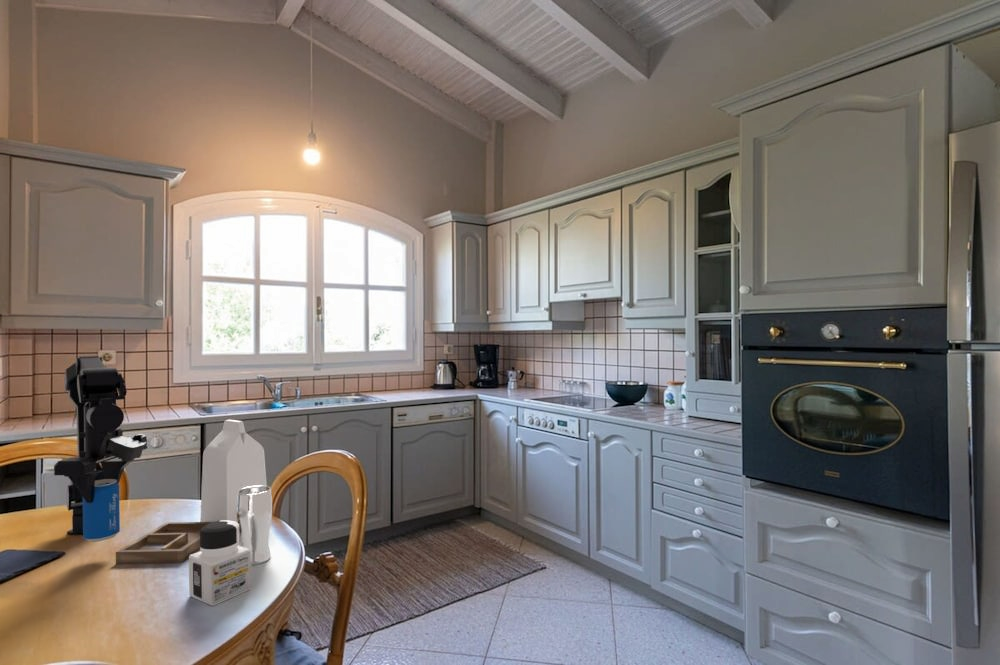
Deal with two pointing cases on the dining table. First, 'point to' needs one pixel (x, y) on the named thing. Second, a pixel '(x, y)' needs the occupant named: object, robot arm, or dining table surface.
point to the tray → (164, 544)
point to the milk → (229, 471)
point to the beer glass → (255, 521)
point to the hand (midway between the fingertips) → (101, 497)
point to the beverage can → (102, 512)
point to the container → (219, 564)
